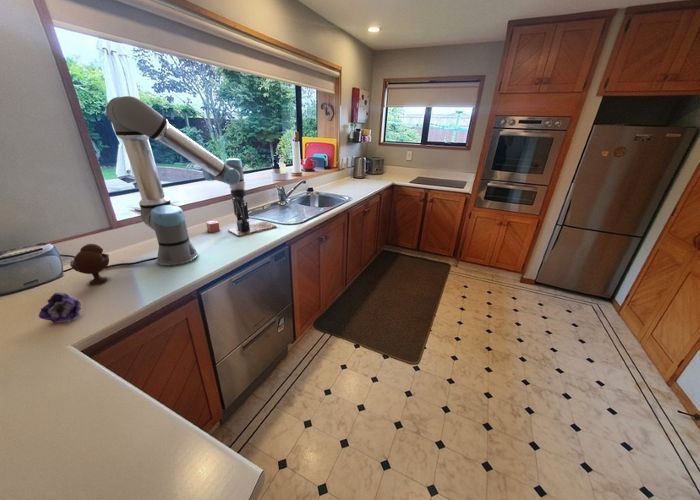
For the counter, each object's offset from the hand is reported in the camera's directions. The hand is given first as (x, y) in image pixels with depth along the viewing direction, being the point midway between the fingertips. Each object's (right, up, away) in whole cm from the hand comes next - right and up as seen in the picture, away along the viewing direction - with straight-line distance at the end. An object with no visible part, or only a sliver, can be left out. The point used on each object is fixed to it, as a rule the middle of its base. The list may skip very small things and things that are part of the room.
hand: (243, 229), depth 160 cm
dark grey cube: (0, 0, 0) cm, 0 cm away
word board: (+4, 0, +4) cm, 6 cm away
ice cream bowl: (-35, -24, -54) cm, 68 cm away
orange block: (-17, -1, 0) cm, 17 cm away
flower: (-28, -33, -73) cm, 85 cm away
